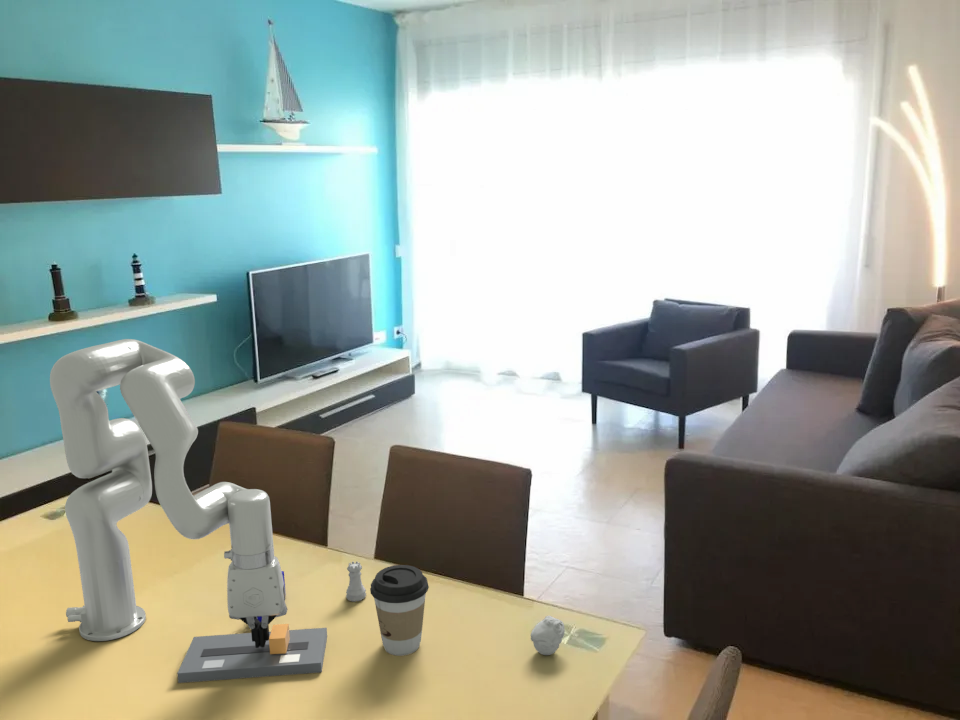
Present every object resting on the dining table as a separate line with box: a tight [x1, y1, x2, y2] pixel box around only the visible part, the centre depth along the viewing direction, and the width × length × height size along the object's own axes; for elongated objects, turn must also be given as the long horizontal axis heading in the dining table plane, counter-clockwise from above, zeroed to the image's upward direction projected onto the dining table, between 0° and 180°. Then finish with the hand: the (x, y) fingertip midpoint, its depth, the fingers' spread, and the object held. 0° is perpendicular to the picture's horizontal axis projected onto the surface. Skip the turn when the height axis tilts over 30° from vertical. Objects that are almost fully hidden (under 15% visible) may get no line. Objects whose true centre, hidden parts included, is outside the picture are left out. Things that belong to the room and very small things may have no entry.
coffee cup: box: [369, 564, 430, 657], centre depth 153 cm, size 11×11×15 cm
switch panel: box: [176, 627, 328, 684], centre depth 151 cm, size 26×12×2 cm, turn 96°
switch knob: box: [269, 623, 290, 654], centre depth 151 cm, size 3×5×3 cm, turn 6°
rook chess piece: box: [345, 560, 367, 603], centre depth 173 cm, size 4×4×8 cm
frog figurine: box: [530, 615, 566, 656], centre depth 151 cm, size 6×7×7 cm
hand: (261, 643), depth 151 cm, fingers closed
